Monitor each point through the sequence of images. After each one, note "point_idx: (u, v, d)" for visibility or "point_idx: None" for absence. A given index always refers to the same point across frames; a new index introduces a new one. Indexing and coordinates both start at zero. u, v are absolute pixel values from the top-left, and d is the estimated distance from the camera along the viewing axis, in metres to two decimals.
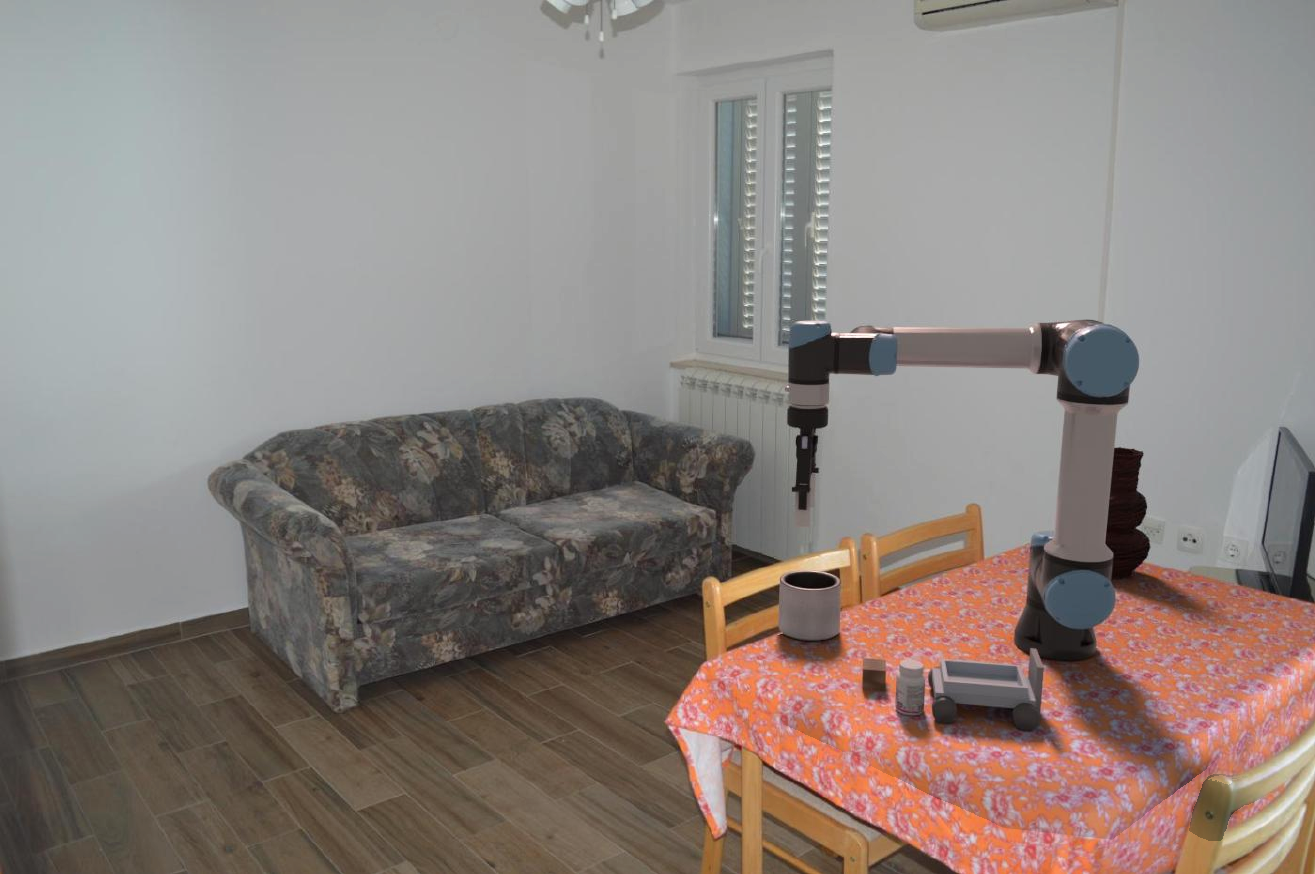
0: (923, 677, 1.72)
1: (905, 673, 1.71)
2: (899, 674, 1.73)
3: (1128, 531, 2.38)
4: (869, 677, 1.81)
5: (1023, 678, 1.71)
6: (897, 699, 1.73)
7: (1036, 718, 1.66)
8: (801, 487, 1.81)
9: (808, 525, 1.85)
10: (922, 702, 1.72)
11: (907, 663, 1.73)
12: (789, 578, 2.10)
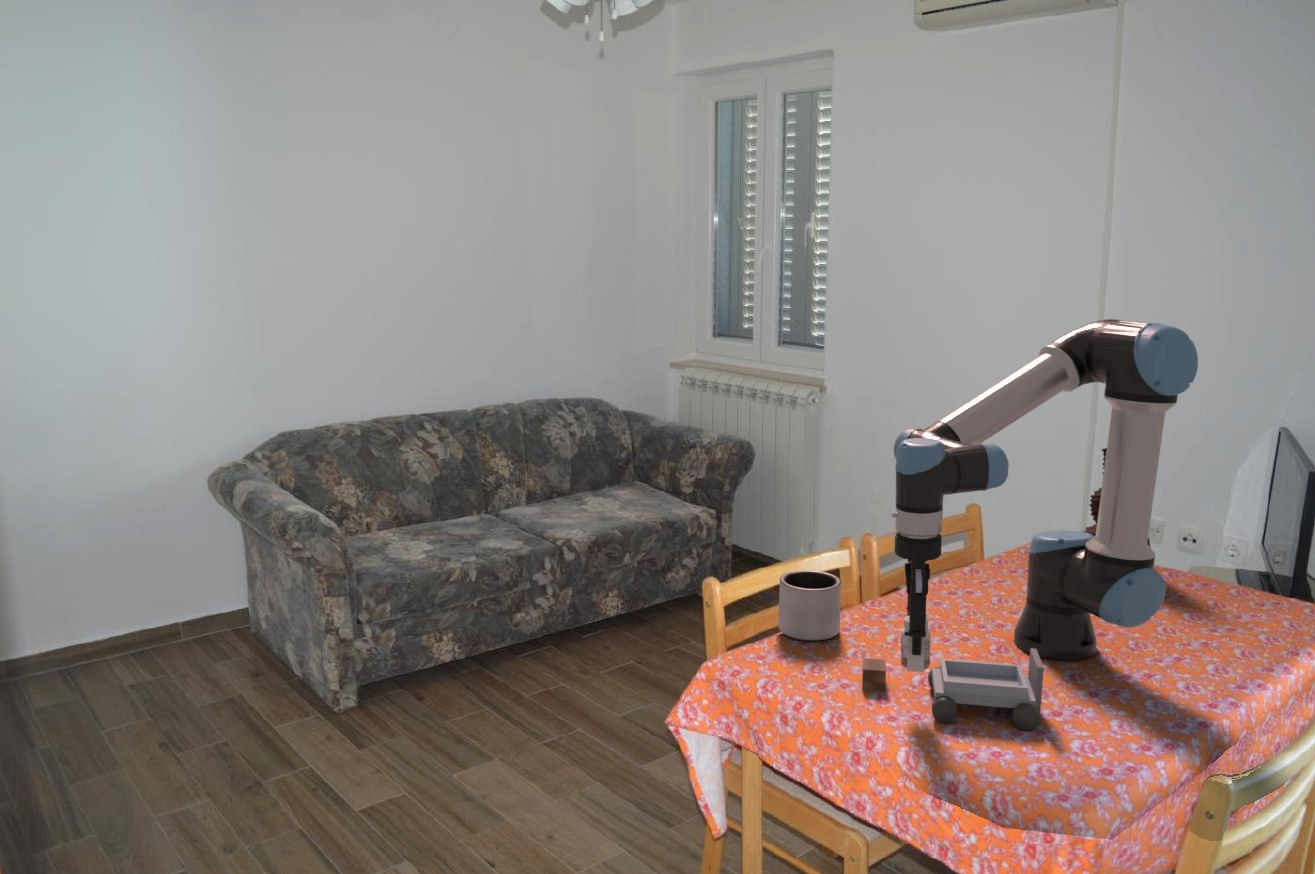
0: (928, 632, 1.71)
1: None
2: (904, 630, 1.72)
3: None
4: (869, 677, 1.81)
5: (1023, 678, 1.71)
6: (902, 655, 1.72)
7: (1036, 718, 1.66)
8: (916, 634, 1.66)
9: (922, 670, 1.70)
10: (928, 657, 1.71)
11: None
12: (789, 578, 2.10)
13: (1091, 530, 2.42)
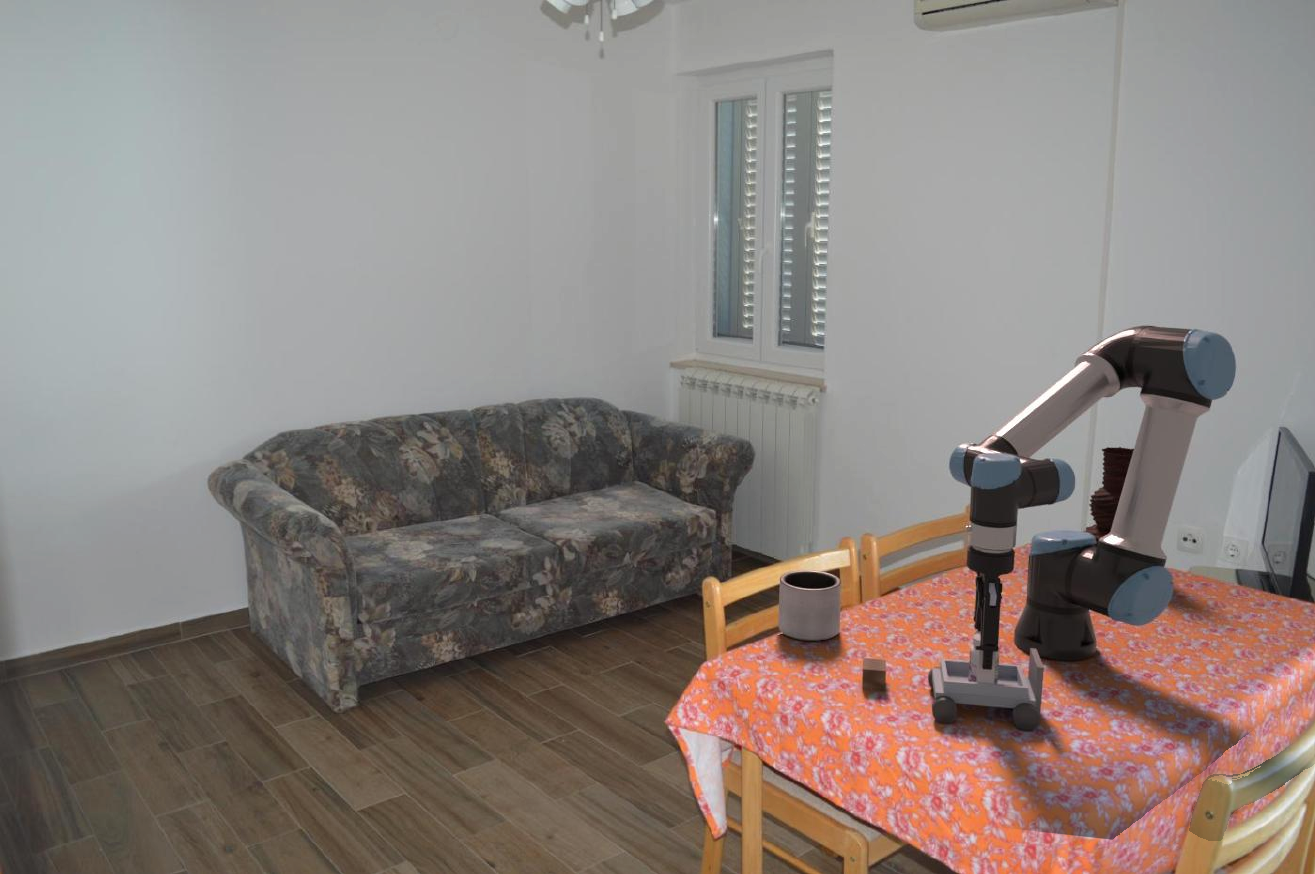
0: None
1: None
2: (973, 648, 1.73)
3: None
4: (869, 677, 1.81)
5: (1023, 678, 1.71)
6: (971, 673, 1.73)
7: (1036, 718, 1.66)
8: (989, 648, 1.65)
9: None
10: (996, 676, 1.72)
11: None
12: (789, 578, 2.10)
13: (1091, 530, 2.42)
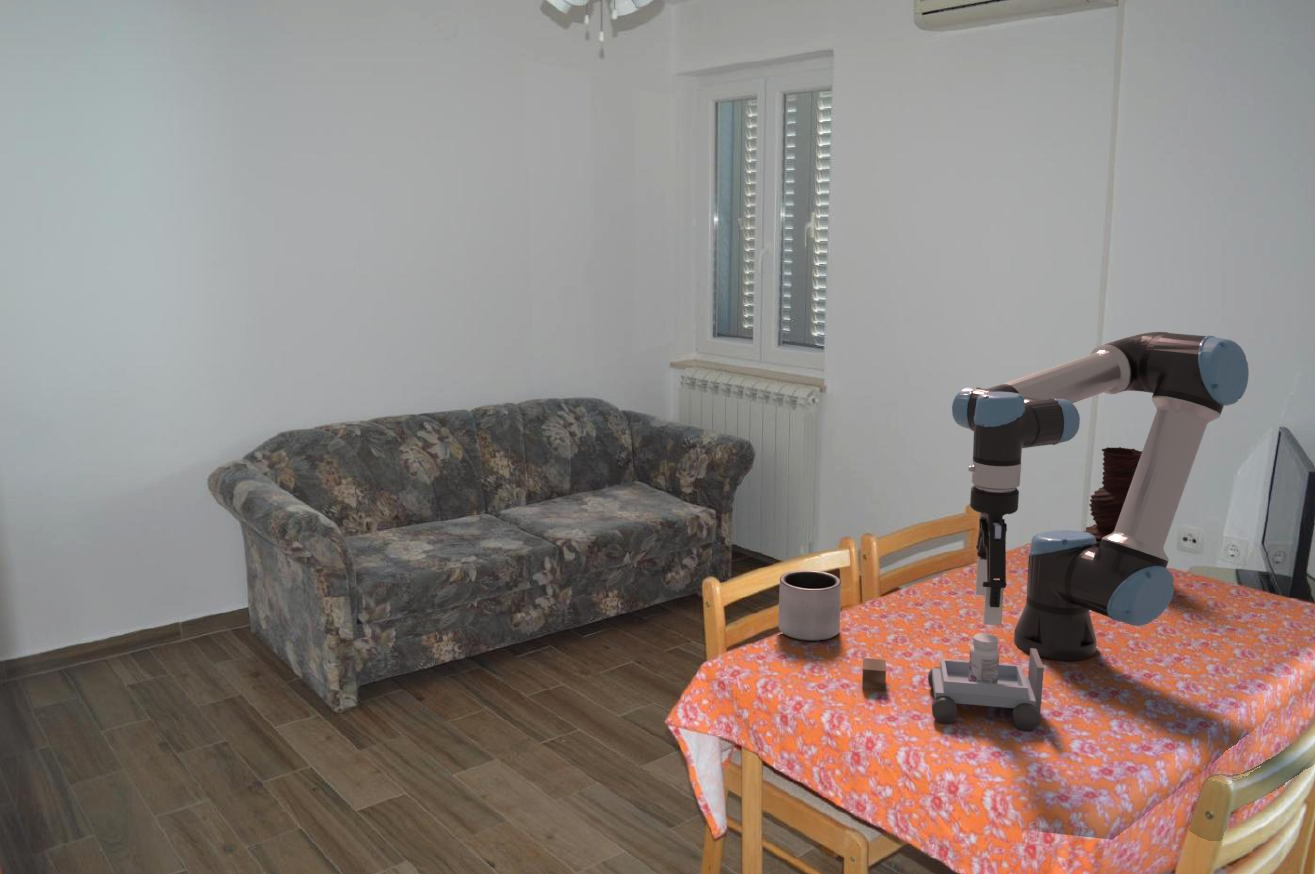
0: (997, 651, 1.72)
1: (980, 646, 1.71)
2: (973, 648, 1.73)
3: None
4: (869, 677, 1.81)
5: (1023, 678, 1.71)
6: (971, 673, 1.73)
7: (1036, 718, 1.66)
8: (996, 583, 1.60)
9: (1000, 623, 1.64)
10: (996, 676, 1.72)
11: (981, 636, 1.72)
12: (789, 578, 2.10)
13: (1091, 530, 2.42)
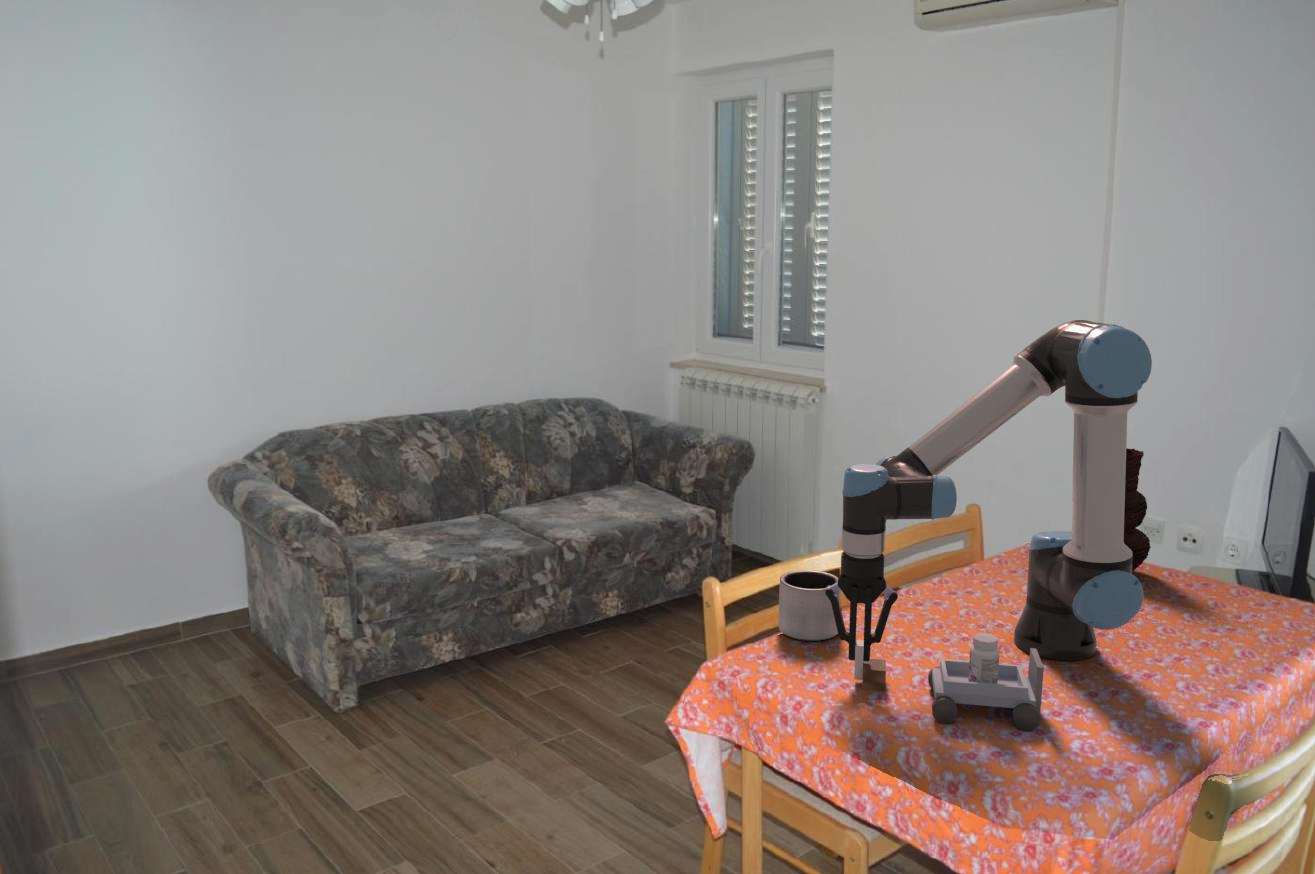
0: (997, 650, 1.72)
1: (979, 646, 1.71)
2: (973, 648, 1.73)
3: (1128, 531, 2.38)
4: (869, 677, 1.81)
5: (1023, 678, 1.71)
6: (971, 673, 1.73)
7: (1036, 718, 1.66)
8: None
9: (854, 677, 1.84)
10: (996, 676, 1.72)
11: (981, 636, 1.73)
12: (789, 578, 2.10)
13: None
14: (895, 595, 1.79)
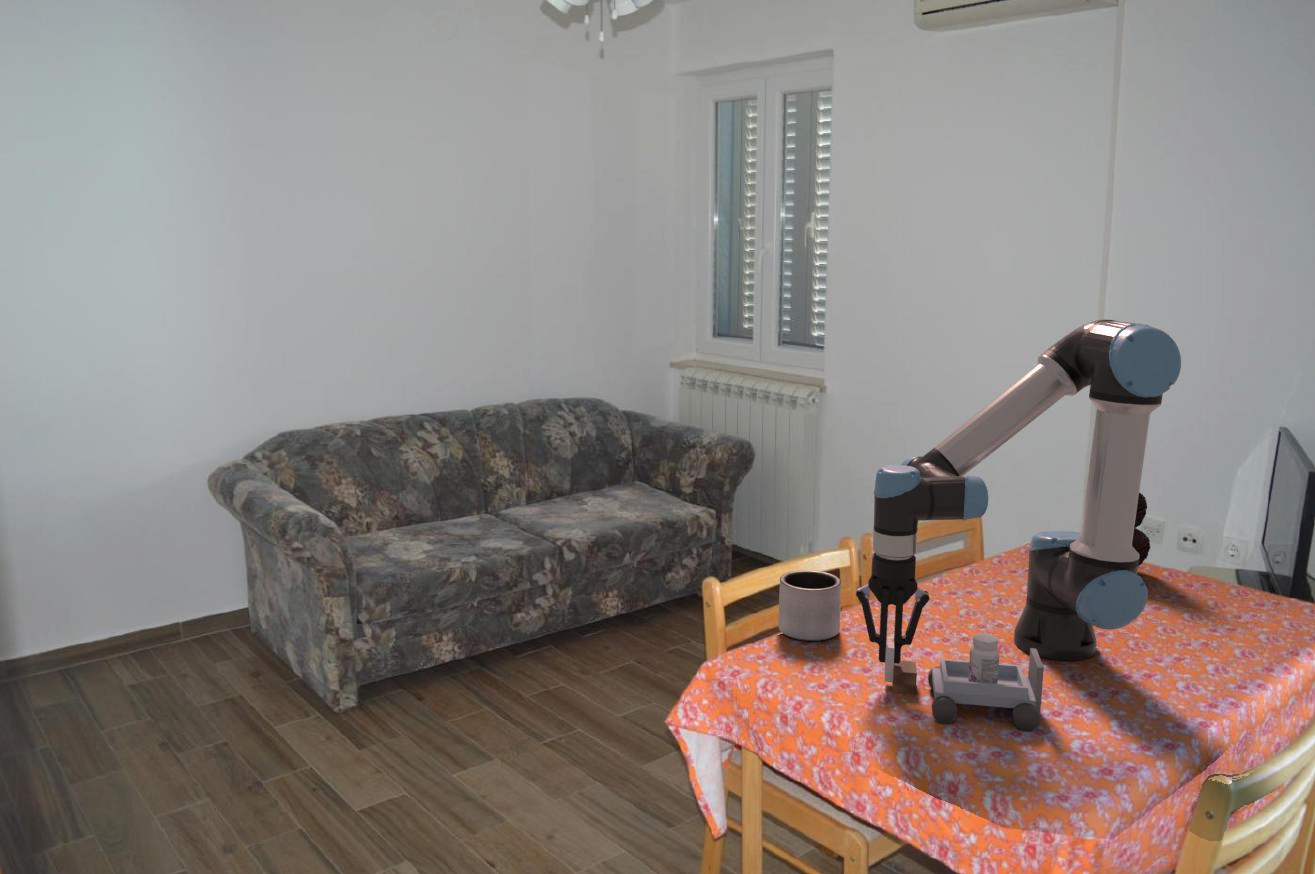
0: (997, 650, 1.72)
1: (980, 646, 1.71)
2: (973, 648, 1.73)
3: None
4: (899, 679, 1.80)
5: (1023, 678, 1.71)
6: (971, 673, 1.73)
7: (1036, 718, 1.66)
8: None
9: (884, 679, 1.82)
10: (996, 676, 1.72)
11: (981, 636, 1.73)
12: (789, 578, 2.10)
13: None
14: (927, 597, 1.78)
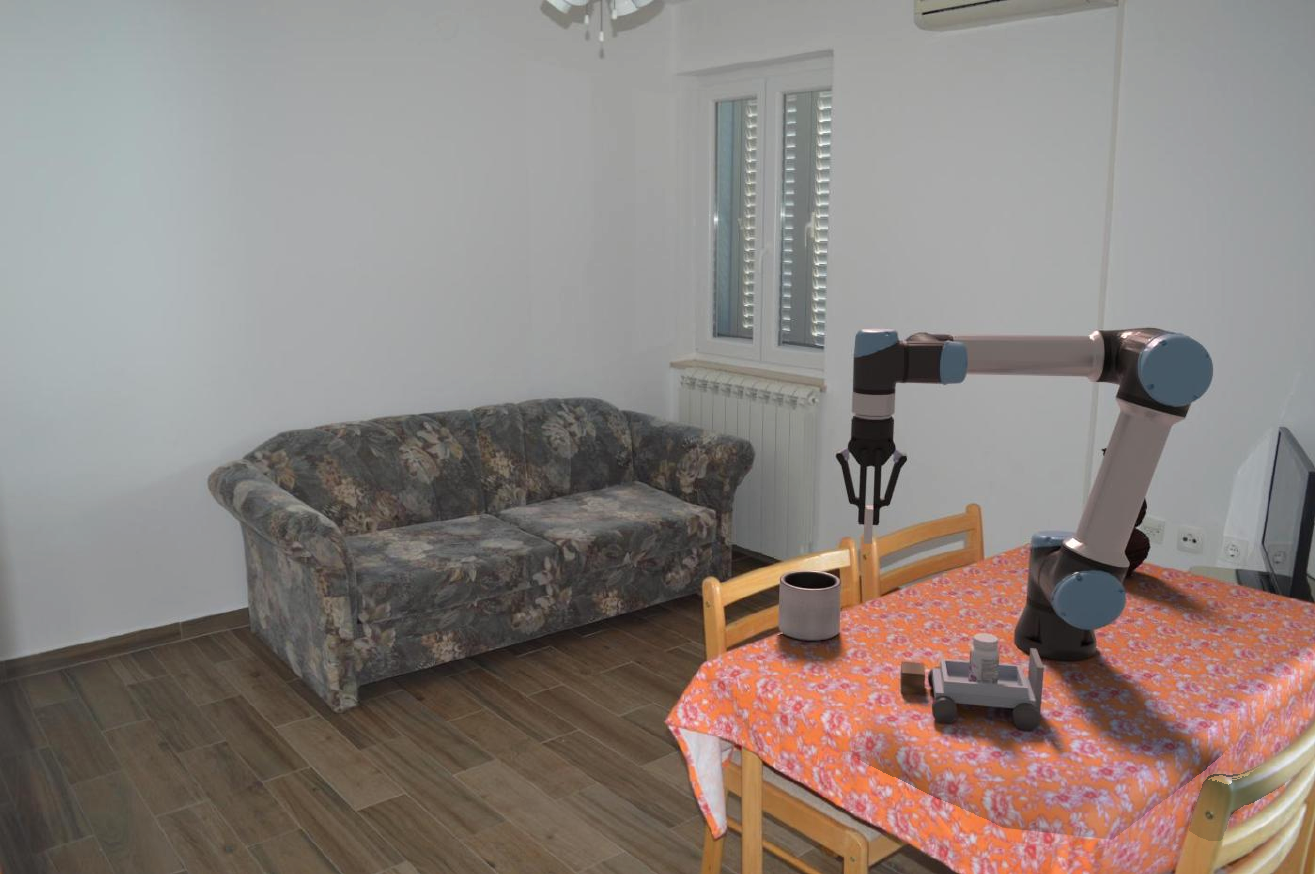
0: (997, 651, 1.72)
1: (980, 646, 1.71)
2: (973, 648, 1.73)
3: None
4: (907, 681, 1.80)
5: (1023, 678, 1.71)
6: (971, 673, 1.73)
7: (1036, 718, 1.66)
8: None
9: None
10: (996, 676, 1.72)
11: (981, 636, 1.73)
12: (789, 578, 2.10)
13: None
14: (904, 457, 1.82)
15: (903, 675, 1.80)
